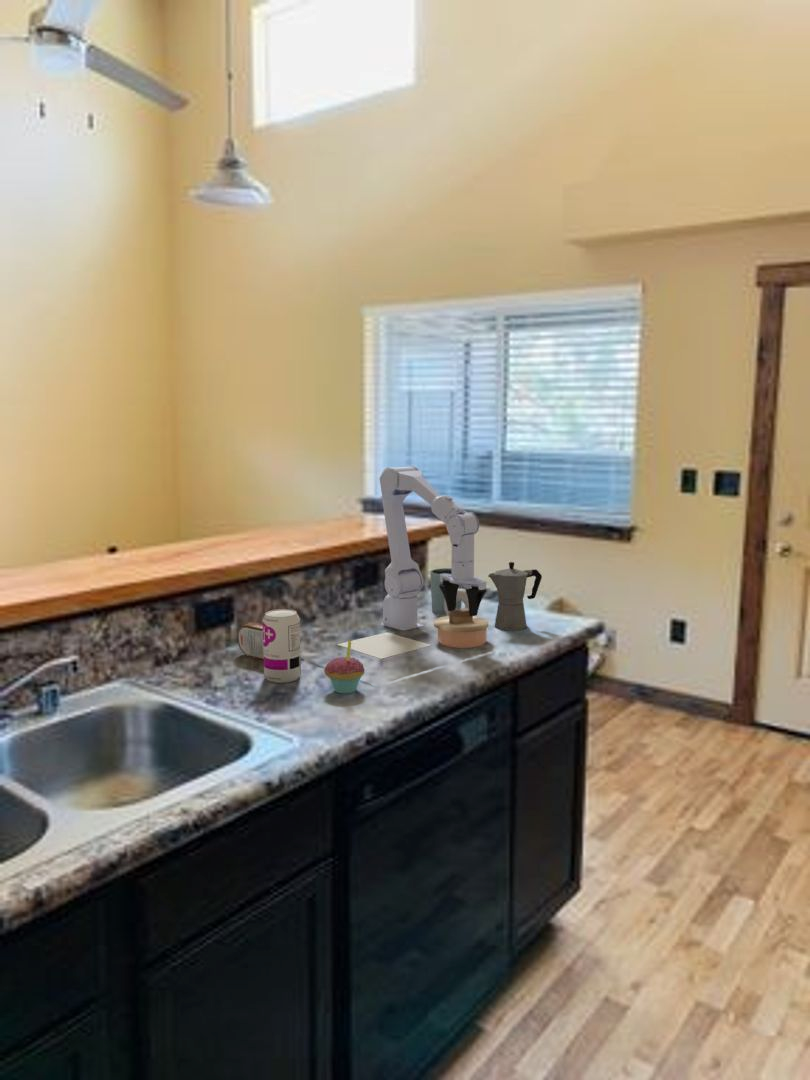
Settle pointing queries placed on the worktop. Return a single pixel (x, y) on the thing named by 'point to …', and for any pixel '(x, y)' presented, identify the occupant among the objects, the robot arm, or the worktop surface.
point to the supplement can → (281, 646)
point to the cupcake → (344, 672)
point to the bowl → (462, 638)
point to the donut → (460, 596)
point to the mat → (384, 645)
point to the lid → (460, 622)
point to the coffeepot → (513, 596)
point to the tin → (251, 639)
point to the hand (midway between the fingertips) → (462, 613)
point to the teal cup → (437, 593)
